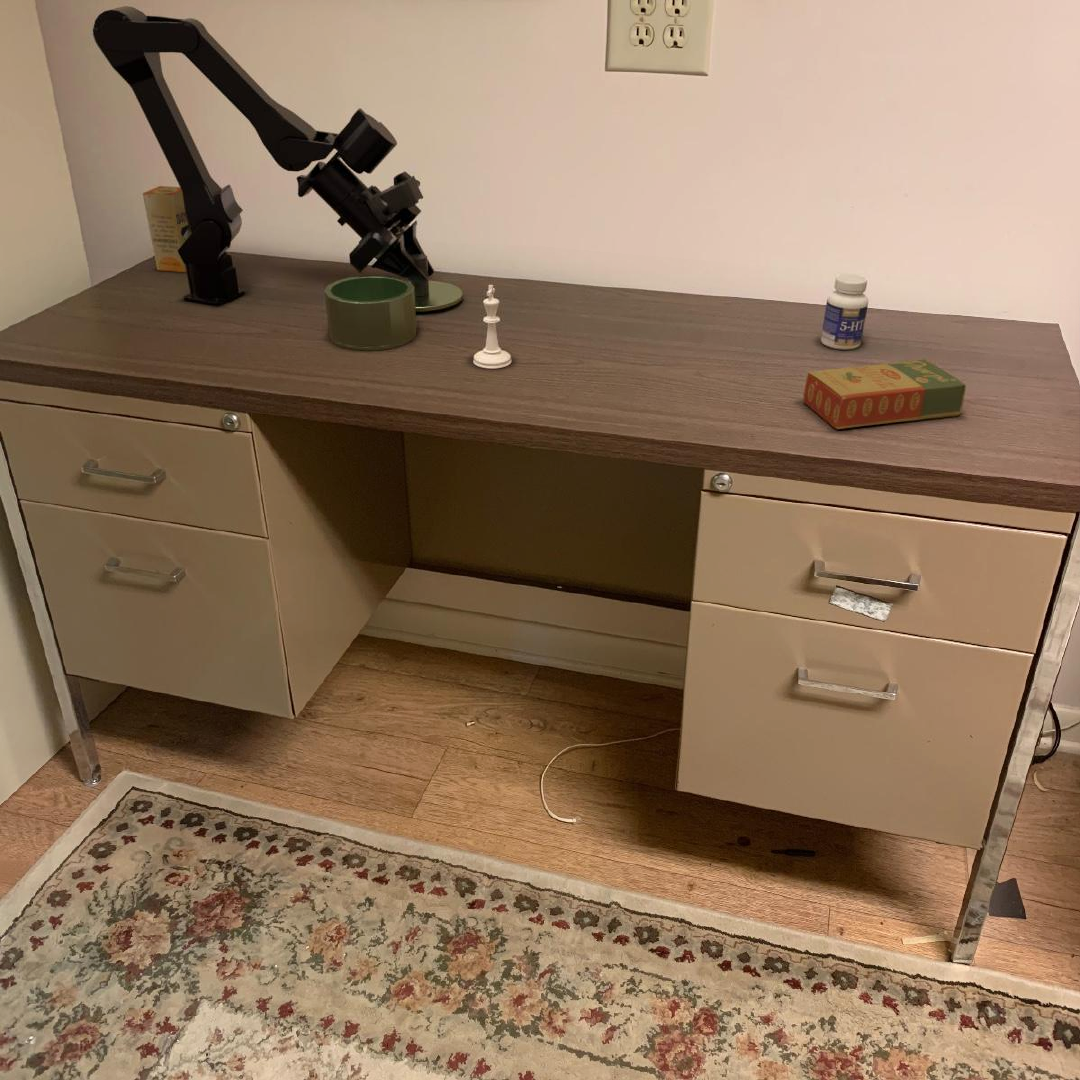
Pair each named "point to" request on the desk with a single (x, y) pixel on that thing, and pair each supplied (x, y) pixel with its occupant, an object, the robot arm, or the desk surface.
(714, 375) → the desk surface
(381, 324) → the tin
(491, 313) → the chess piece
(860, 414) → the carton
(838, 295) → the pill bottle
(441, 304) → the lid
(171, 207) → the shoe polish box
